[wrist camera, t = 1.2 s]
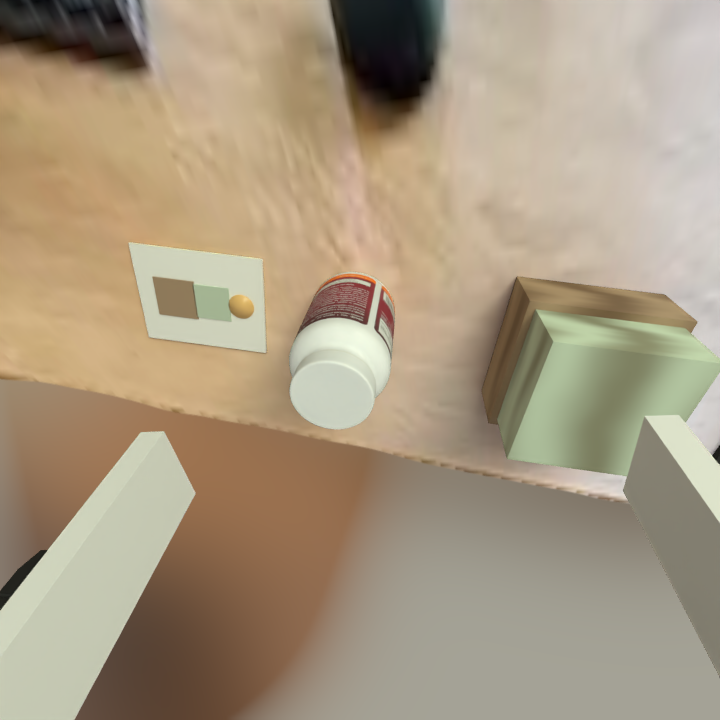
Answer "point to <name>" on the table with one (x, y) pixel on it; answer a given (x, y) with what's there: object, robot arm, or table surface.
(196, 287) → the page
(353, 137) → the table surface
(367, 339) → the pill bottle
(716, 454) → the calculator
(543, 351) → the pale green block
